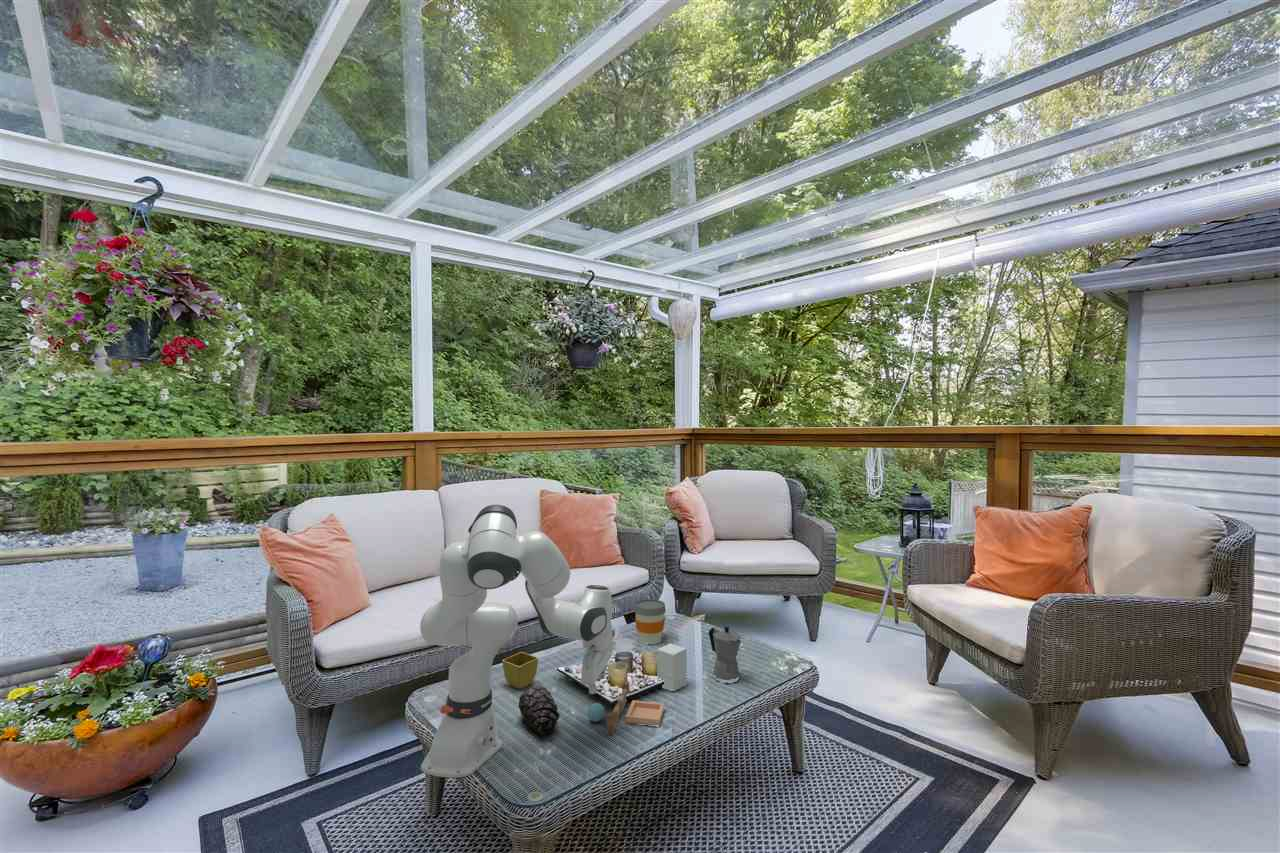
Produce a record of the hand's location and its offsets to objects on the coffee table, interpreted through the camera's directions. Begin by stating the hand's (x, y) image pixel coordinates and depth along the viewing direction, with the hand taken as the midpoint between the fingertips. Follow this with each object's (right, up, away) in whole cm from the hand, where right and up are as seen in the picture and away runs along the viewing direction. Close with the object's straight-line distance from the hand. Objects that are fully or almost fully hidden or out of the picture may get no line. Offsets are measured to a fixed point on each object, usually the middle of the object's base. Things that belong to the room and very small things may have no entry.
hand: (597, 685), depth 176 cm
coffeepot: (+42, -11, +30) cm, 53 cm away
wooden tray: (+14, -11, +3) cm, 18 cm away
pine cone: (-16, -11, -2) cm, 20 cm away
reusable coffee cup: (+17, -10, +63) cm, 65 cm away
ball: (0, -11, +1) cm, 11 cm away
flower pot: (-28, -10, +23) cm, 38 cm away
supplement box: (+23, -11, +24) cm, 35 cm away
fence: (+6, -11, +3) cm, 13 cm away
